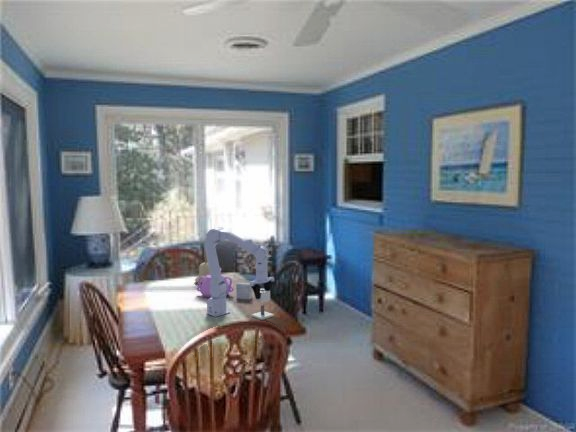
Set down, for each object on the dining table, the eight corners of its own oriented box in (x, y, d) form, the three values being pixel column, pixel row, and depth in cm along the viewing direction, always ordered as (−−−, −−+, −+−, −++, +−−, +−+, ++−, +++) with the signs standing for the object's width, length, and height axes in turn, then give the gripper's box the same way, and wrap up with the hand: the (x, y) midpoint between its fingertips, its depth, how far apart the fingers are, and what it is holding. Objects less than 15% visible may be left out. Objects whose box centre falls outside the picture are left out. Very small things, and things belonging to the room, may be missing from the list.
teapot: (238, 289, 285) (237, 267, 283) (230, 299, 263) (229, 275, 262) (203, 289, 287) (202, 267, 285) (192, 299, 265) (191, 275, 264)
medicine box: (252, 297, 267) (251, 283, 266) (249, 300, 262) (249, 284, 262) (239, 297, 269) (239, 282, 268) (236, 299, 265) (236, 284, 264)
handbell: (199, 286, 294) (197, 247, 292) (191, 281, 308) (190, 243, 305) (222, 283, 302) (221, 245, 299) (214, 278, 315) (212, 241, 313)
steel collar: (261, 302, 228) (261, 292, 228) (254, 300, 232) (254, 290, 232) (270, 300, 232) (270, 290, 232) (262, 298, 236) (262, 288, 236)
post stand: (261, 319, 227) (261, 309, 227) (251, 316, 233) (251, 305, 233) (273, 316, 233) (273, 305, 232) (263, 312, 239) (263, 302, 238)
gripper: (255, 274, 223) (256, 302, 224) (278, 269, 233) (278, 296, 234) (246, 272, 228) (247, 299, 229) (268, 267, 238) (269, 293, 239)
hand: (262, 297), depth 232 cm, fingers closed on steel collar, 6 cm apart
